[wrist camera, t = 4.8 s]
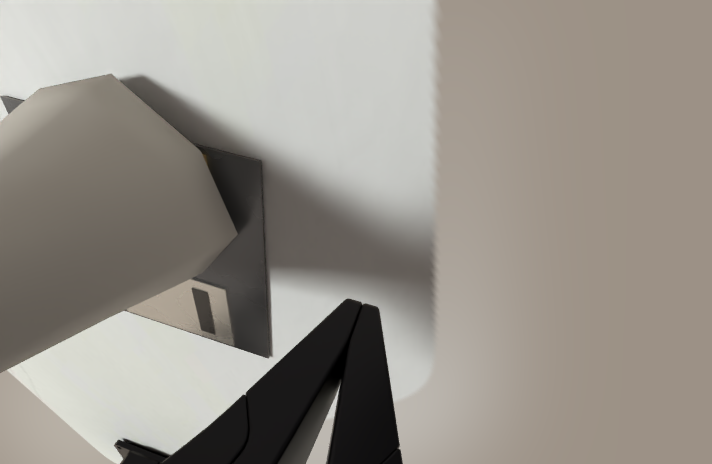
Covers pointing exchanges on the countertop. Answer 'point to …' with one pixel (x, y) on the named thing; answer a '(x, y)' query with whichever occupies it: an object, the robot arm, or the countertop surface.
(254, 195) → the floppy disk
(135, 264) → the flask
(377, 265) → the countertop surface
